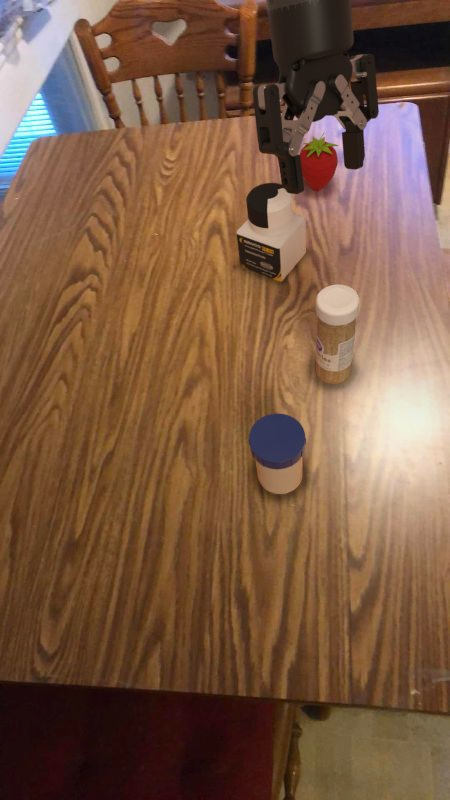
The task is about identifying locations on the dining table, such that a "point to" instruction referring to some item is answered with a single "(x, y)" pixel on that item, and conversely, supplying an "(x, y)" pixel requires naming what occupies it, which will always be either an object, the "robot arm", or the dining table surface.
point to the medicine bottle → (271, 232)
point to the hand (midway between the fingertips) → (325, 180)
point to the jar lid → (277, 441)
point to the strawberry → (318, 163)
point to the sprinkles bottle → (335, 332)
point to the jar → (280, 477)
